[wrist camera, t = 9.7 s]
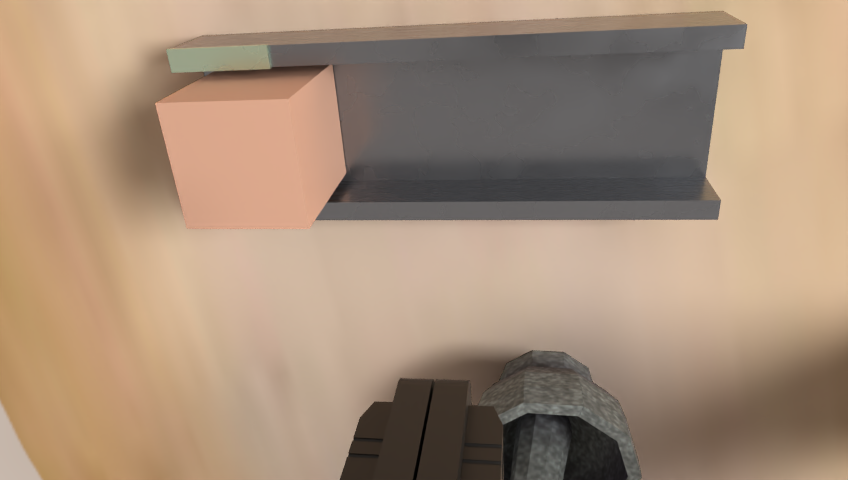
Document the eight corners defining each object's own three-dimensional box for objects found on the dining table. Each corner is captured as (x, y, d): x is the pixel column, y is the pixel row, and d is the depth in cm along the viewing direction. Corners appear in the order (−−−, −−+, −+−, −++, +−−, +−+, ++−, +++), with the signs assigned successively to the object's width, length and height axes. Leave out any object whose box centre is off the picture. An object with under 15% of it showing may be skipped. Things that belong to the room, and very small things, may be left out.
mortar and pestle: (501, 306, 40) (492, 452, 29) (647, 352, 40) (692, 515, 29) (448, 435, 45) (424, 598, 34) (577, 476, 45) (593, 651, 35)
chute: (723, 9, 31) (748, 23, 27) (699, 189, 35) (718, 222, 31) (202, 34, 35) (166, 49, 31) (236, 193, 39) (207, 222, 35)
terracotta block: (332, 62, 33) (288, 98, 27) (346, 172, 36) (309, 228, 30) (221, 67, 34) (154, 103, 28) (243, 174, 37) (186, 228, 31)
